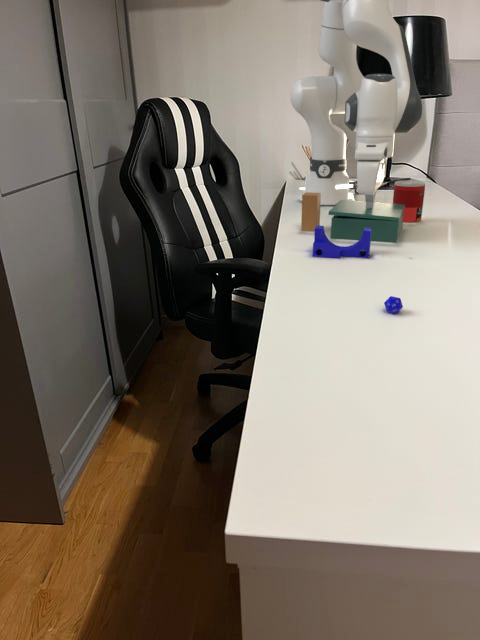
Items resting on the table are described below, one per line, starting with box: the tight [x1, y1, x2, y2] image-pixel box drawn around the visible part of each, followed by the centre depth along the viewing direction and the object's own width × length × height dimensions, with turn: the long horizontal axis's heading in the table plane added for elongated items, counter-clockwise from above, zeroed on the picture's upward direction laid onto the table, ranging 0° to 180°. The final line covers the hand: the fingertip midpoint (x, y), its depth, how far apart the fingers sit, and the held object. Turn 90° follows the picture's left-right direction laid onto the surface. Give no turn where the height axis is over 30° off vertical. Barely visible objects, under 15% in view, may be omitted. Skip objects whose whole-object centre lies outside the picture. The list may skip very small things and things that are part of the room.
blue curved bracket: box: [312, 225, 372, 259], centre depth 110 cm, size 12×4×6 cm, turn 72°
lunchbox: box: [330, 210, 404, 244], centre depth 126 cm, size 16×17×6 cm
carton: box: [300, 192, 321, 232], centre depth 130 cm, size 4×4×10 cm
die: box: [383, 295, 404, 315], centre depth 81 cm, size 3×3×3 cm
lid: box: [328, 199, 405, 221], centre depth 125 cm, size 16×17×1 cm
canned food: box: [392, 179, 426, 224], centre depth 138 cm, size 8×8×11 cm
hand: (369, 207), depth 125 cm, fingers closed, pressing on lid
